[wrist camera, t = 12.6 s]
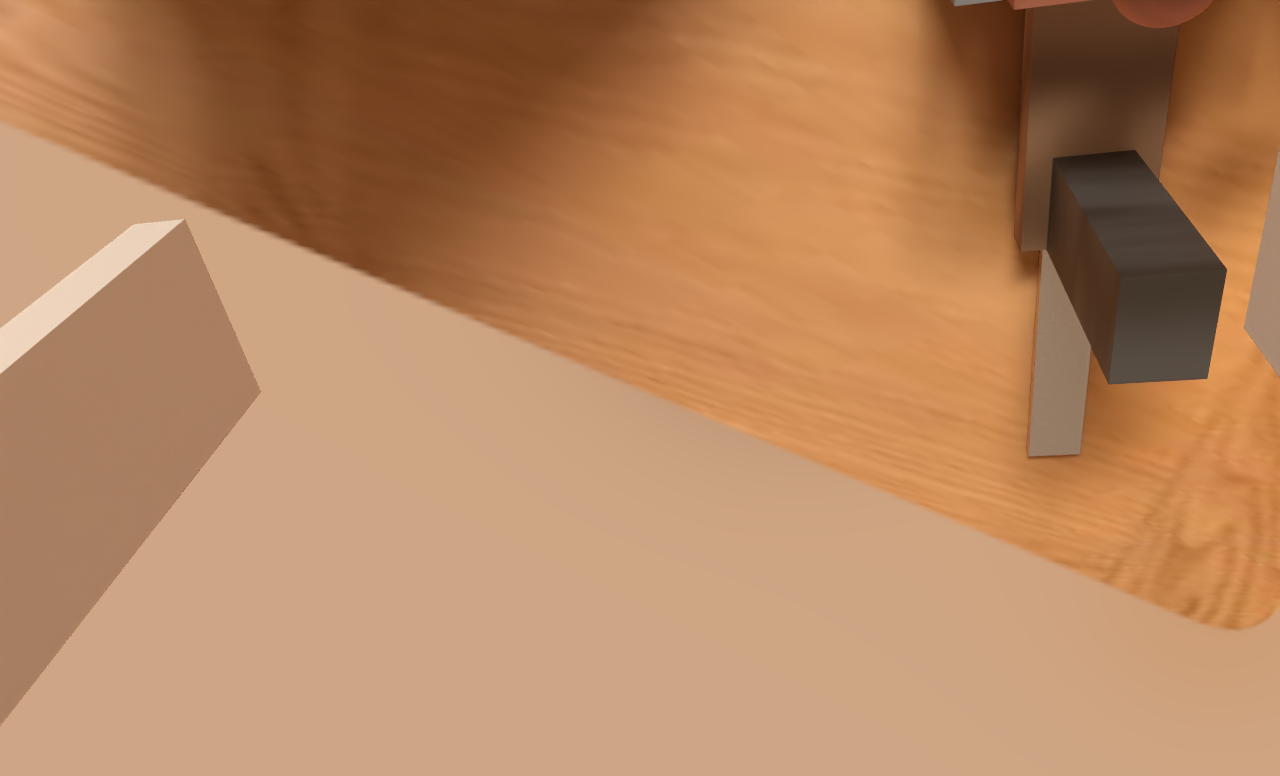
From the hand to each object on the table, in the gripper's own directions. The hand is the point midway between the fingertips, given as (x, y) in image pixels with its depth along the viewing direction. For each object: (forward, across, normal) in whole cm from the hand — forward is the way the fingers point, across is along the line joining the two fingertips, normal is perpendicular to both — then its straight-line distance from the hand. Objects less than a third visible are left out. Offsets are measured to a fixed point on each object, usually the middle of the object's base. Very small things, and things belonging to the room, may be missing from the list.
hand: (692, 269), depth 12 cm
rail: (+31, +12, -18) cm, 38 cm away
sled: (+30, +12, -8) cm, 33 cm away
